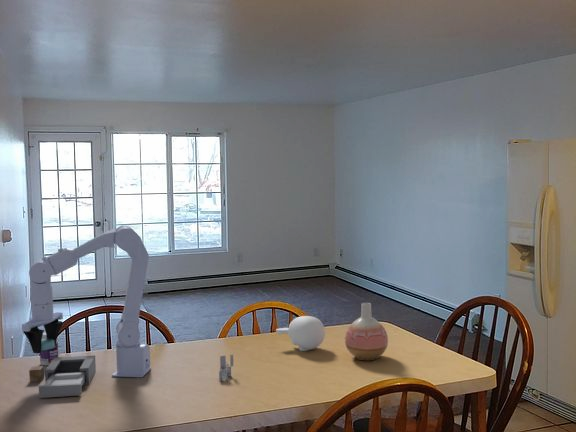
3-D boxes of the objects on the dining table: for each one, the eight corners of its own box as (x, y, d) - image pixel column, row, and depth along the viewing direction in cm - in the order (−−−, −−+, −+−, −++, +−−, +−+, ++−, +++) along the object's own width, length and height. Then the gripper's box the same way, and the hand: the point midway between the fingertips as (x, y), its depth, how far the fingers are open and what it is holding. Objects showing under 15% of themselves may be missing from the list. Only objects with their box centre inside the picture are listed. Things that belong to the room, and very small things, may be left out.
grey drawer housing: (95, 370, 186) (95, 355, 186) (89, 384, 174) (88, 368, 174) (55, 373, 184) (54, 357, 184) (45, 387, 173) (45, 370, 172)
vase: (339, 361, 192) (339, 306, 191) (351, 349, 205) (351, 297, 203) (382, 366, 187) (382, 309, 185) (392, 353, 200) (392, 300, 198)
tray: (88, 380, 177) (88, 369, 177) (81, 395, 165) (80, 384, 165) (49, 382, 175) (49, 372, 175) (39, 397, 164) (38, 386, 163)
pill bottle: (52, 366, 191) (50, 335, 190) (36, 365, 192) (35, 335, 191) (62, 361, 196) (60, 331, 196) (46, 360, 197) (45, 330, 197)
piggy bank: (329, 355, 204) (296, 349, 215) (333, 319, 206) (301, 315, 217) (304, 352, 196) (271, 346, 206) (309, 315, 198) (277, 311, 209)
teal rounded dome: (58, 346, 176) (58, 340, 176) (41, 351, 172) (41, 345, 172) (46, 343, 180) (46, 337, 179) (29, 348, 175) (29, 342, 175)
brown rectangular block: (44, 377, 181) (43, 366, 180) (41, 381, 178) (40, 369, 177) (32, 378, 180) (32, 366, 180) (29, 382, 177) (29, 370, 177)
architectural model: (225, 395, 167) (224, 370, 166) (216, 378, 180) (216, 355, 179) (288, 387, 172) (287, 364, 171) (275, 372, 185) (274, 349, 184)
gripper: (48, 297, 183) (50, 341, 184) (12, 308, 169) (14, 356, 170) (67, 298, 180) (69, 343, 182) (32, 309, 167) (35, 358, 168)
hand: (44, 349), depth 176 cm, fingers closed on teal rounded dome, 6 cm apart
